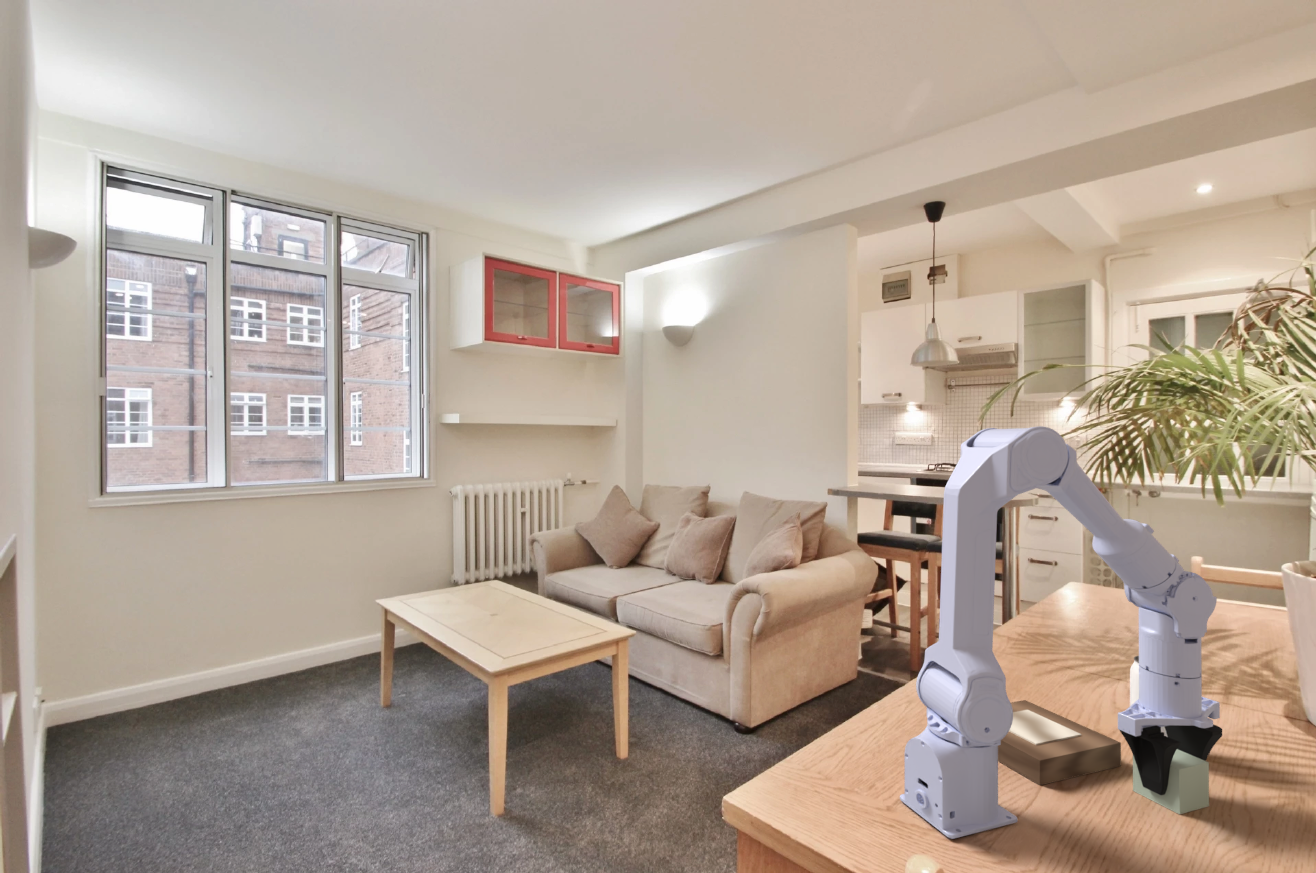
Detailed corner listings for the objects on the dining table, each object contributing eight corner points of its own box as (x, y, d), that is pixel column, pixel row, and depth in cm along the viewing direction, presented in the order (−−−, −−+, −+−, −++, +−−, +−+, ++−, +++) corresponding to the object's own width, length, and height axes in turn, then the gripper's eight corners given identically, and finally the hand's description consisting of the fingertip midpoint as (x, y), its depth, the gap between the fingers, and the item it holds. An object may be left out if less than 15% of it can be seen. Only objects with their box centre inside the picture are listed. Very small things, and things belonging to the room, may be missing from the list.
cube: (1179, 814, 70) (1179, 769, 70) (1132, 791, 75) (1132, 749, 75) (1208, 806, 72) (1208, 762, 72) (1161, 783, 76) (1161, 742, 76)
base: (1039, 785, 76) (1039, 758, 76) (951, 734, 89) (951, 711, 89) (1120, 766, 80) (1120, 741, 80) (1025, 720, 94) (1025, 698, 94)
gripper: (1164, 690, 67) (1165, 817, 67) (1250, 674, 72) (1251, 793, 72) (1099, 668, 74) (1099, 783, 74) (1181, 654, 79) (1182, 763, 78)
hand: (1170, 786), depth 73 cm, fingers closed on cube, 5 cm apart
